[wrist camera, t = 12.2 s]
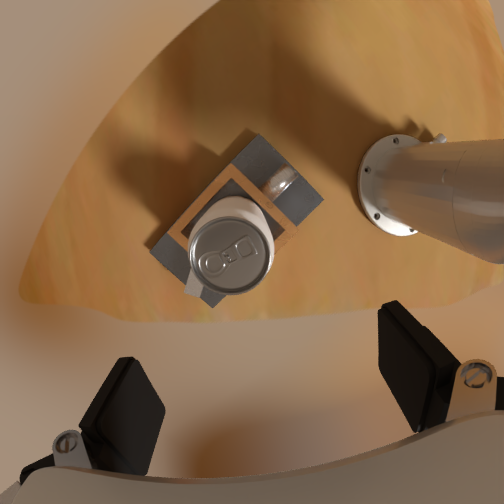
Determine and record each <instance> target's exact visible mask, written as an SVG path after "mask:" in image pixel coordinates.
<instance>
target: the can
mask: <svg viewBox="0 0 504 504" xmlns="http://www.w3.org/2000/svg"><path fill="white" fill-rule="evenodd" d="M188 258H189V262H190V266H191V269H192V271H193V273H194V275H195V277H196V278H197V279H198V281H199V282H200V283H201V284H202V285H203V286H205V287H206V288H208V289H209V290H211V291H213V292H216V293H219V294H223V295H238V294H242V293H245V292H248V291H250V290H252V289H253V288H255V287H256V286H257V285H258V284H260V282H261V281H262V280H263V279H264V277H265V276H266V274H267V273H268V271H269V269H270V267H271V265H272V262H273V258H274V241H273V237H272V234H271V231H270V229H269V226H268V224H267V222H266V219H265V217H264V215H263V213H262V211H261V210H260V208H259V207H258V206H257V205H256V204H255V203H254V202H253V201H251V200H250V199H248V198H245V197H242V196H228V197H224V198H222V199H220V200H218V201H217V202H216V203H214V204H213V205H212V206H211V207H210V208H209V209H208V211H207V212H206V213H205V214H204V215H203V216H202V217H201V218H200V219H199V221H198V222H197V223H196V225H195V226H194V228H193V230H192V232H191V234H190V237H189V241H188Z"/></svg>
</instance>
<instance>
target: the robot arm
mask: <svg viewBox="0 0 504 504" xmlns="http://www.w3.org/2000/svg"><path fill="white" fill-rule="evenodd" d="M393 140H394V142H393ZM446 141H447V139H446V137H445V136H444V135H443V134H441V133H439V134H438V135H437V136H436V137H435V139H434V141H433V142H423V143H422V142H421V141H419V140H418V139H416V138H414V137H411V136H408V135H403V134H395V135H389V136H386V137H383V138H381V139H379V140H378V141H376V142H375V143H374V144H373V145H372V146H371V147H370V148H369V149H368V150H367V152H366V153H365V155H364V156H363V159H362V161H361V164H360V167H359V171H358V179H357V187H358V195H359V199H360V202H361V206H362V208H363V210H364V212H365V214H366V215H367V217H368V218H369V219H370V221H371V222H372V223H373V224H374V225H376V226H377V227H378V228H379V229H381V230H383V231H384V232H387V233H389V234H391V235H396V236H409V235H413V234H415V233H417V232H421V233H423V234H425V235H428V236H430V237H433V238H435V239H437V240H440V241H442V242H444V243H447V244H449V245H451V246H453V247H456V248H458V249H460V250H462V251H465V252H467V253H469V254H471V255H473V256H476V257H478V258H480V259H482V260H485V261H487V262H490V263H494V264H504V139H498V140H480V141H460V142H446ZM365 168H366V169H367V171H366V172H365ZM374 214H376V216H375V217H374ZM378 343H379V344H378V345H379V357H378V360H379V361H378V365H379V370H380V372H381V374H382V376H383V378H384V379H385V381H386V383H387V385H388V387H389V388H390V390H391V392H392V394H393V395H394V397H395V399H396V401H397V403H398V404H399V406H400V408H401V410H402V412H403V414H404V415H405V417H406V419H407V421H408V423H409V425H410V427H411V429H412V430H413V432H415V433H416V432H419V433H417V434H414V435H413V436H410V437H407V438H405V439H402V440H399V441H397V442H394V443H391V444H389V445H386V446H383V447H380V448H377V449H374V450H371V451H368V452H364V453H361V454H358V455H355V456H351V457H348V458H344V459H340V460H337V461H333V462H329V463H324V464H320V465H316V466H311V467H306V468H301V469H296V470H290V471H284V472H277V473H270V474H262V475H253V476H242V477H230V478H229V477H228V478H165V477H164V478H163V477H150V476H145V475H146V474H147V472H148V468H149V465H150V462H151V458H152V455H153V452H154V448H155V445H156V442H157V438H158V435H159V432H160V428H161V425H162V422H163V419H164V416H165V407H164V404H163V403H162V401H161V399H160V398H159V396H158V395H157V393H156V391H155V389H154V388H153V386H152V385H151V382H150V381H149V379H148V377H147V375H146V373H145V372H144V370H143V368H142V366H141V364H140V362H139V361H138V360H135V358H133V357H122V358H119V359H118V360H117V362H116V363H115V365H114V367H113V368H112V370H111V371H110V373H109V375H108V376H107V378H106V380H105V381H104V383H103V384H102V386H101V388H100V389H99V391H98V393H97V394H96V396H95V398H94V399H93V401H92V403H91V404H90V406H89V408H88V410H87V411H86V413H85V415H84V416H83V418H82V420H81V422H80V423H79V427H80V428H81V430H82V432H81V434H80V433H79V432H78V431H76V430H67V431H64V432H62V433H61V434H60V435H58V436H57V437H56V439H55V440H54V443H53V447H52V450H53V454H51V455H49V456H47V457H45V458H43V459H40V460H38V461H36V462H35V463H32V464H30V465H28V466H26V467H24V468H23V470H22V472H21V474H20V483H19V482H18V481H16V482H15V483H14V484H13V485H12V486H10V487H9V488H8V489H7V490H5V491H4V492H3V493H2V494H0V504H504V377H497V373H496V370H495V368H494V366H493V365H491V364H490V363H489V362H487V361H485V360H480V359H473V360H469V361H466V362H465V363H463V364H461V363H460V362H459V361H458V360H457V359H456V358H455V357H454V355H453V354H452V353H451V352H450V351H449V350H448V349H447V348H446V347H445V346H444V345H443V344H442V343H441V342H440V340H439V339H438V338H436V336H435V335H434V334H433V333H432V332H431V331H430V330H429V329H428V328H426V327H425V326H422V325H421V324H420V323H419V322H418V321H417V320H416V319H415V318H414V317H413V316H412V315H411V314H410V313H409V312H408V311H407V310H406V309H405V308H404V307H403V306H402V305H401V304H400V303H399V302H398V301H397V300H394V301H391V302H388V303H385V304H383V305H382V307H381V309H379V310H378Z"/></svg>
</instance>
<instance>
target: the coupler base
mask: <svg viewBox="0 0 504 504" xmlns="http://www.w3.org/2000/svg"><path fill="white" fill-rule="evenodd" d="M228 196H242V197H245V198H248V199H250V200H251V201H253V202H254V203H255V204H256V205H257V206H258V207H259V208H260V210H261V211H262V213H263V215H264V217H265V219H266V222H267V224H268V226H269V229H270V231H271V234H272V237H273V241H274V255H275V254H276V253H277V252H278V251H279V250H280V249H281V248H282V247H283V246H284V245H285V244H286V243H287V242H288V241H289V240H290V239H291V238H292V237H293V236H294V235H295V234H296V233H297V232H298V231H299V229H298V228H297V226H298V225H299V224H300V223H301V222H302V221H303V220H304V219H305V218H306V217H307V216H308V215H309V214H310V213H311V212H312V211H313V210H314V209H315V208H316V207H317V206H318V205H319V204H320V203H321V202H322V201H323V200H324V199H323V198H322V197H321V196H320V195H319V194H318V193H317V191H316V190H315V189H314V188H313V187H312V186H311V185H310V184H309V183H308V182H307V181H306V180H305V179H304V178H303V177H302V176H301V175H300V174H299V173H298V172H297V171H296V170H295V169H294V168H293V167H292V166H291V165H290V164H289V163H288V162H287V161H286V160H285V159H284V158H283V157H282V156H281V155H280V154H279V153H278V152H277V151H276V150H275V149H274V148H273V147H272V146H271V145H270V144H269V143H268V142H267V141H266V140H265V139H264V138H263V137H262V136H261V135H260V134H258V135H257V136H256V137H255V138H254V139H253V140H252V141H251V142H250V143H249V144H248V145H247V146H246V147H245V148H244V149H243V150H242V151H241V152H240V153H239V154H238V155H237V156H236V157H235V158H234V159H233V160H232V161H231V162H230V163H229V164H228V165H227V166H226V167H225V168H224V169H223V170H222V171H221V172H220V173H219V174H218V175H217V177H216V178H215V179H214V180H213V181H212V182H211V183H210V184H209V185H208V186H207V187H206V188H205V189H204V190H203V191H202V192H201V194H200V195H199V196H198V197H197V198H196V199H195V200H194V201H193V202H192V203H191V205H190V206H189V207H188V208H187V209H186V210H185V211H184V212H183V213H182V215H181V216H180V217H179V218H178V219H177V220H176V221H175V223H174V224H173V225H172V226H171V227H170V228H169V229H168V231H167V232H166V233H165V234H164V235H163V236H162V238H161V239H160V240H159V241H158V242H157V244H156V245H155V246H154V247H153V248H152V250H151V251H150V253H151V254H152V255H153V256H154V257H155V258H156V259H157V260H158V261H159V262H160V263H162V264H163V265H164V266H165V267H166V268H167V269H168V270H169V271H170V272H171V273H173V274H174V275H175V276H176V277H177V278H178V279H179V280H180V281H182V282H183V283H184V284H185V285H186V287H185V291H184V293H187V294H190V295H193V296H196V297H199V298H201V299H202V300H203V301H205V302H206V303H207V304H208V305H209V306H211V307H212V308H214V307H215V306H216V305H217V304H218V303H219V302H220V301H221V300H222V299H223V298H224V297H225V296H226V295H223V294H219V293H216V292H213V291H211V290H209V289H208V288H206V287H205V286H203V285H202V284H201V283H200V282H199V281H198V279H197V278H196V277H195V275H194V273H193V271H192V269H191V266H190V262H189V258H188V241H189V237H190V234H191V232H192V230H193V228H194V226H195V225H196V223H197V222H198V221H199V219H200V218H201V217H202V216H203V215H204V214H205V213H206V212H207V211H208V209H209V208H210V207H211V206H212V205H213V204H214V203H216V202H217V201H218V200H220V199H222V198H224V197H228Z"/></svg>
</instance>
